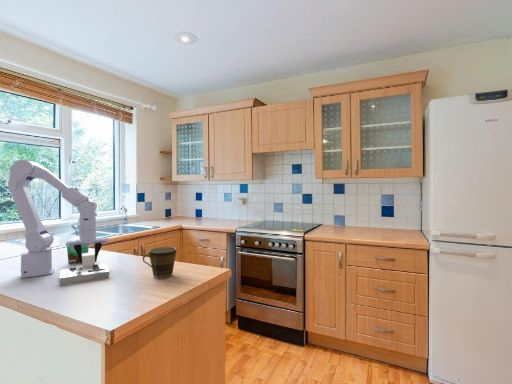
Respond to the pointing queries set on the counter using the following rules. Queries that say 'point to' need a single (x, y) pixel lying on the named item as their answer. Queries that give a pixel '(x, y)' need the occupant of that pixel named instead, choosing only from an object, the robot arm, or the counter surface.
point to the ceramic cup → (162, 261)
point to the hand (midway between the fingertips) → (88, 262)
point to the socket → (83, 274)
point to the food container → (73, 255)
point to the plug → (88, 259)
